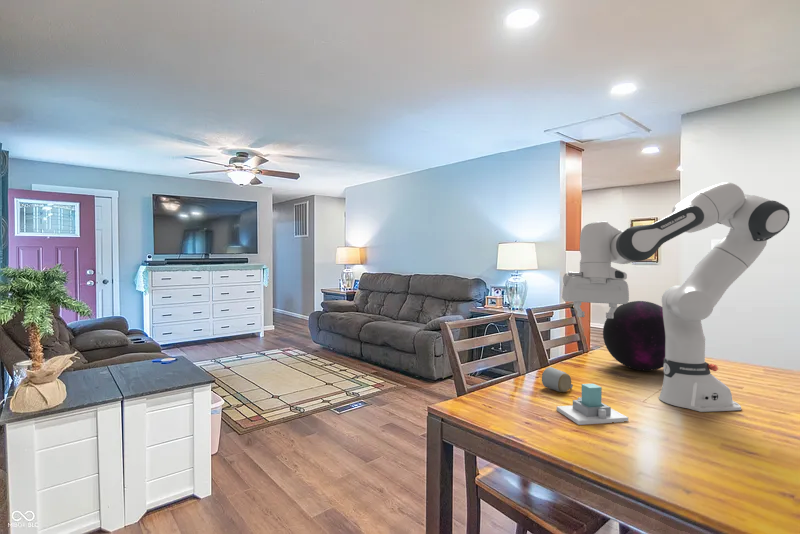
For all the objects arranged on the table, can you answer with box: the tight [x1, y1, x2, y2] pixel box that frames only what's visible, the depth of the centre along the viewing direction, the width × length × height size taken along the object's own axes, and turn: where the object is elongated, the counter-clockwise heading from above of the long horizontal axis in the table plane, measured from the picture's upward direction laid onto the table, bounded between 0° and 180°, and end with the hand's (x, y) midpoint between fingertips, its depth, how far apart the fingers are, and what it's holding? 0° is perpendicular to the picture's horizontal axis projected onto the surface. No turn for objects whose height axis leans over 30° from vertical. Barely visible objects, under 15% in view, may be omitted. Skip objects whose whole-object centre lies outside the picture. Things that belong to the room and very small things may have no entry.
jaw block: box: [581, 383, 603, 407], centre depth 127 cm, size 4×4×8 cm
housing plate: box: [556, 396, 629, 426], centre depth 127 cm, size 16×12×4 cm
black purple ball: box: [602, 300, 665, 372], centre depth 182 cm, size 30×30×30 cm
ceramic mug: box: [541, 366, 574, 393], centre depth 153 cm, size 11×8×8 cm
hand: (595, 317), depth 128 cm, fingers open, 8 cm apart
